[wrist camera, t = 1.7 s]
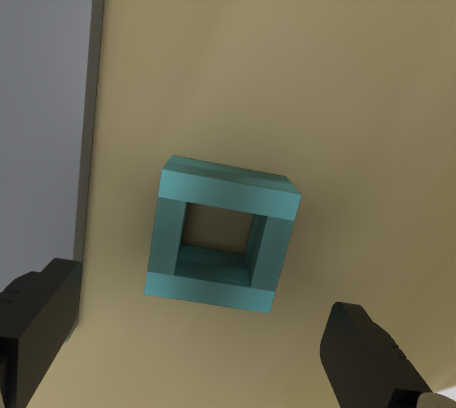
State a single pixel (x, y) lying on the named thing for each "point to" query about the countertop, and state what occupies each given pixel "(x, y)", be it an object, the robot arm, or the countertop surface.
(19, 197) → the shaft stand
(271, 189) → the collar
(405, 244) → the countertop surface
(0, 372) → the robot arm
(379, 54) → the countertop surface
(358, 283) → the countertop surface
